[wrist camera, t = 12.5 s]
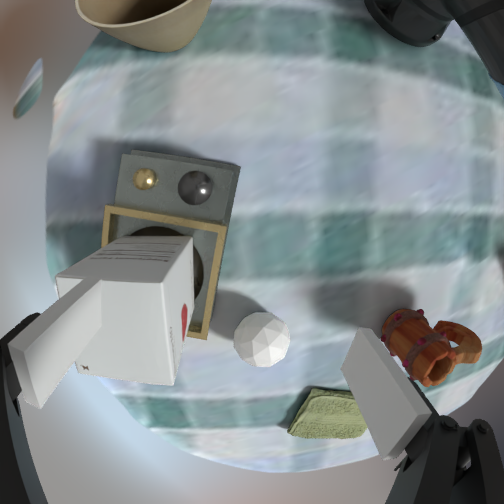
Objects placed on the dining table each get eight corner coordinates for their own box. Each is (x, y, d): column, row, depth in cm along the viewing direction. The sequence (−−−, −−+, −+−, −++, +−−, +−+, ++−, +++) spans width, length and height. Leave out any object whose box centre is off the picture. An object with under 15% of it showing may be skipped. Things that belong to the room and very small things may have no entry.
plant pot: (109, 72, 32) (52, 31, 16) (143, -6, 28) (112, -64, 13) (207, 84, 34) (191, 30, 18) (236, 2, 30) (239, -67, 15)
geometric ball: (269, 310, 45) (309, 324, 39) (252, 358, 44) (289, 377, 38) (233, 299, 40) (274, 314, 34) (215, 352, 39) (252, 376, 33)
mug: (371, 349, 45) (411, 405, 31) (375, 308, 43) (423, 358, 29) (436, 331, 46) (482, 373, 31) (443, 292, 44) (496, 329, 29)
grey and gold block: (134, 150, 35) (110, 144, 27) (240, 166, 37) (242, 164, 29) (117, 298, 40) (96, 322, 32) (211, 317, 42) (207, 347, 34)
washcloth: (308, 383, 47) (312, 394, 44) (386, 389, 49) (392, 399, 46) (283, 429, 50) (285, 441, 47) (357, 432, 52) (361, 442, 49)
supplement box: (196, 308, 35) (175, 390, 20) (127, 305, 34) (76, 376, 20) (194, 234, 32) (164, 281, 18) (120, 233, 32) (50, 275, 17)
